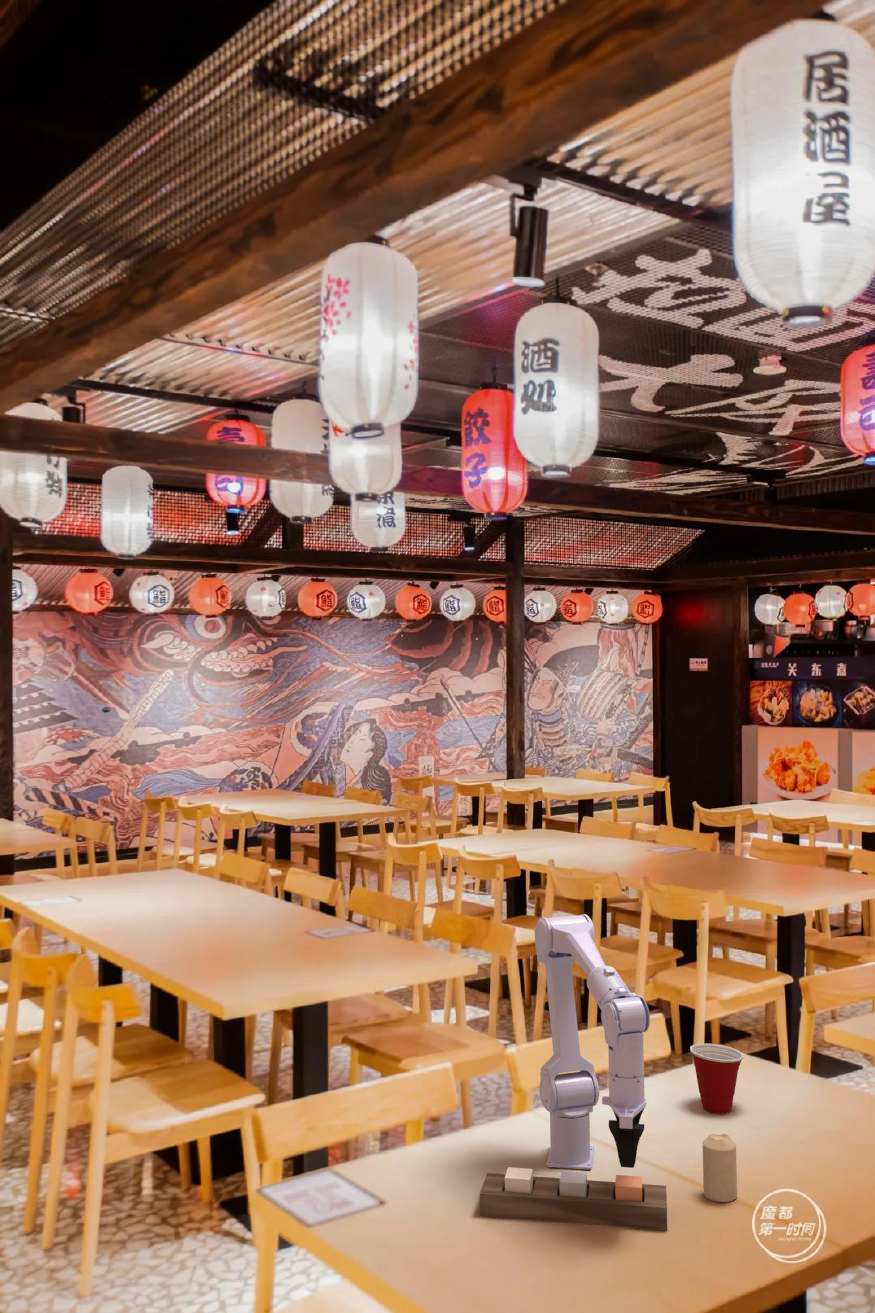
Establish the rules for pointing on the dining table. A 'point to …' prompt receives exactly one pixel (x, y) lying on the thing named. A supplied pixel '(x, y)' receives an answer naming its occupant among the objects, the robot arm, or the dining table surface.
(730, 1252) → the dining table surface
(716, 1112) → the plastic cup
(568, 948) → the robot arm
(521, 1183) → the beige cube
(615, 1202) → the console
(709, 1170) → the candle
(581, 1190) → the light gray cube
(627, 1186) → the orange cube
